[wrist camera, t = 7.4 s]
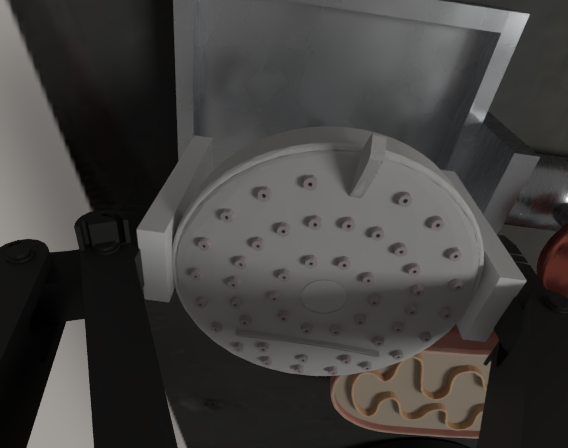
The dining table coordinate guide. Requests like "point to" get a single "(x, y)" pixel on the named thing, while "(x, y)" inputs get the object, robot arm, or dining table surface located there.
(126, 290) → the robot arm
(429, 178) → the showerhead
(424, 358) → the anatomical model
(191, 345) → the dining table surface
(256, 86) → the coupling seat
